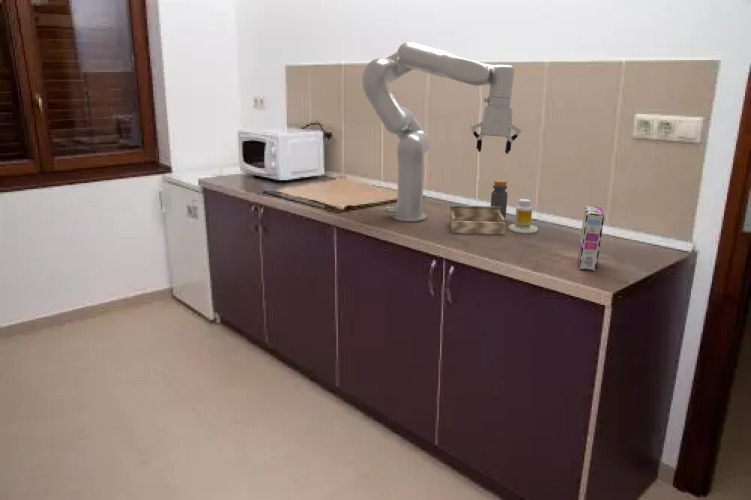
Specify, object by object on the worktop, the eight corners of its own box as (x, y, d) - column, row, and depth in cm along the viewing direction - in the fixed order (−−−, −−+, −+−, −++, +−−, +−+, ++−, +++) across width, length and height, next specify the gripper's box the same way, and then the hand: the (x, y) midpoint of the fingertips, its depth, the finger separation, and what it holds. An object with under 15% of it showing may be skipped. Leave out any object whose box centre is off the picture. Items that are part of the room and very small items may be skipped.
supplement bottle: (533, 228, 204) (536, 201, 202) (519, 229, 203) (522, 202, 200) (525, 224, 209) (527, 198, 206) (511, 225, 208) (514, 198, 205)
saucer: (511, 233, 202) (511, 230, 201) (506, 226, 211) (506, 223, 211) (540, 234, 201) (540, 231, 201) (534, 226, 211) (534, 224, 210)
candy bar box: (597, 272, 163) (605, 215, 158) (578, 270, 164) (585, 213, 160) (595, 260, 173) (602, 206, 169) (577, 258, 175) (584, 205, 170)
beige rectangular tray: (452, 232, 201) (453, 213, 199) (449, 223, 213) (450, 205, 212) (504, 234, 200) (506, 215, 198) (498, 224, 213) (500, 206, 211)
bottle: (505, 222, 216) (508, 182, 212) (489, 221, 217) (492, 181, 213) (505, 219, 222) (508, 179, 217) (489, 218, 223) (492, 179, 218)
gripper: (474, 101, 197) (469, 152, 202) (526, 104, 197) (519, 155, 202) (472, 100, 204) (467, 149, 210) (522, 103, 204) (515, 152, 209)
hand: (492, 152), depth 206 cm, fingers open, 9 cm apart
